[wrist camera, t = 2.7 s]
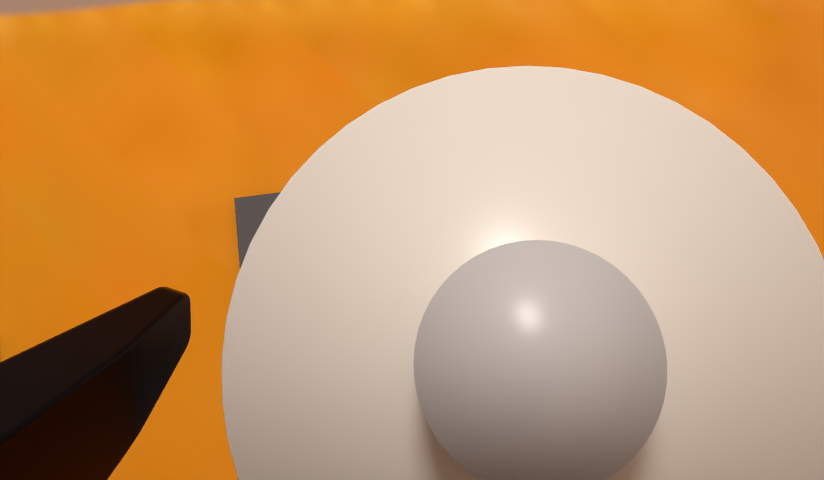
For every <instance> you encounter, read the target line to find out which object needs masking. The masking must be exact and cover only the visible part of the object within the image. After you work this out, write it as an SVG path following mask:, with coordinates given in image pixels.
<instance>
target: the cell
mask: <svg viewBox="0 0 824 480" xmlns="http://www.w3.org/2000/svg"><path fill="white" fill-rule="evenodd" d="M222 401H223V409H224V416H225V423H226V430H227V438H228V443H229V446H230V450H231V454H232V457H233V461H234V465H235V468H236V472H237V476H238V480H824V259H823V257H822V255H821V252H820V250H819V248H818V245H817V244H816V242H815V240H814V239H813V237H812V235H811V234H810V232H809V230H808V228H807V227H806V225H805V223H804V222H803V220H802V218H801V217H800V215H799V213H798V212H797V210H796V208H795V207H794V206H793V205H792V203H791V202H790V201H789V199H788V198H787V197H786V196H785V194H784V193H783V192H782V190H781V189H780V188H779V187H778V185H777V184H776V183H775V181H774V180H773V179H772V177H771V176H770V175H769V174H768V173H767V172H766V171H765V170H764V169H763V168H762V167H761V166H760V165H759V164H758V163H757V162H756V161H755V160H754V159H753V158H752V157H751V156H750V155H749V154H748V153H747V152H746V151H745V150H744V149H743V148H742V147H740V146H739V145H738V144H737V143H735V142H734V141H733V140H731V139H730V138H729V137H728V136H726V135H725V134H724V133H723V132H721V131H720V130H719V129H717V128H716V127H715V126H714V125H712V124H711V123H710V122H708V121H706V120H705V119H703V118H701V117H700V116H698V115H696V114H695V113H693V112H691V111H690V110H688V109H686V108H685V107H683V106H681V105H680V104H678V103H676V102H674V101H672V100H670V99H668V98H665V97H663V96H661V95H659V94H656V93H654V92H652V91H650V90H647V89H645V88H643V87H641V86H638V85H635V84H631V83H628V82H625V81H622V80H618V79H615V78H612V77H609V76H605V75H602V74H596V73H590V72H585V71H579V70H573V69H568V68H558V67H539V66H516V67H502V68H488V69H482V70H477V71H472V72H467V73H462V74H457V75H452V76H448V77H445V78H442V79H439V80H436V81H433V82H430V83H427V84H424V85H421V86H418V87H415V88H412V89H410V90H408V91H406V92H404V93H402V94H400V95H397V96H395V97H393V98H391V99H389V100H387V101H385V102H383V103H381V104H379V105H377V106H376V107H374V108H372V109H371V110H369V111H368V112H366V113H365V114H363V115H362V116H360V117H358V118H357V119H355V120H354V121H352V122H351V123H349V124H347V125H346V126H345V127H344V128H343V129H341V130H340V131H339V132H338V133H337V134H335V135H334V136H333V137H332V138H331V139H329V140H328V141H327V142H326V143H325V144H323V145H322V146H321V147H320V148H319V149H317V151H316V152H315V153H314V154H313V155H312V156H311V157H310V158H309V159H308V160H307V161H306V162H305V163H304V165H303V166H302V167H301V168H300V169H299V170H298V171H297V172H296V173H295V174H294V175H293V176H292V177H291V179H290V180H289V182H288V183H287V184H286V186H285V187H284V189H283V190H282V191H281V193H280V194H279V196H278V197H277V198H276V200H275V201H274V202H273V204H272V205H271V207H270V208H269V210H268V211H267V213H266V215H265V217H264V219H263V221H262V223H261V224H260V226H259V228H258V230H257V232H256V234H255V235H254V237H253V239H252V241H251V243H250V245H249V248H248V250H247V253H246V256H245V258H244V261H243V263H242V266H241V269H240V271H239V274H238V276H237V279H236V282H235V286H234V290H233V294H232V298H231V302H230V307H229V311H228V315H227V319H226V327H225V336H224V344H223V353H222Z"/></svg>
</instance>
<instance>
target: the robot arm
mask: <svg viewBox="0 0 824 480" xmlns="http://www.w3.org/2000/svg"><path fill="white" fill-rule="evenodd" d="M190 334H191V313H190V298H189V296H188V295H187V294H185V293H183V292H180V291H177V290H174V289H171V288H168V287H159V288H156V289H154V290H152V291H150V292H148V293H146V294H144V295H142V296H139V297H137V298H135V299H133V300H131V301H129V302H127V303H125V304H123V305H120V306H118V307H116V308H114V309H112V310H110V311H108V312H106V313H104V314H101V315H99V316H97V317H95V318H93V319H91V320H89V321H87V322H85V323H82V324H80V325H78V326H76V327H74V328H72V329H70V330H68V331H66V332H63V333H61V334H59V335H57V336H55V337H53V338H51V339H49V340H47V341H44V342H42V343H40V344H38V345H36V346H34V347H32V348H30V349H28V350H25V351H23V352H21V353H19V354H17V355H15V356H13V357H11V358H9V359H6V360H4V361H2V362H0V480H107V479H108V478H109V476H110V475H111V474H112V472H113V471H114V469H115V468H116V467H117V465H118V464H119V462H120V461H121V459H122V458H123V457H124V455H125V454H126V452H127V451H128V449H129V448H130V446H131V445H132V443H133V442H134V440H135V439H136V437H137V436H138V434H139V433H140V431H141V429H142V427H143V426H144V424H145V422H146V421H147V419H148V417H149V415H150V413H151V411H152V410H153V408H154V406H155V404H156V402H157V400H158V399H159V397H160V395H161V393H162V391H163V390H164V388H165V386H166V384H167V382H168V380H169V379H170V377H171V375H172V373H173V371H174V369H175V368H176V366H177V364H178V362H179V360H180V358H181V357H182V355H183V353H184V351H185V349H186V347H187V345H188V342H189V339H190Z"/></svg>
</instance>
